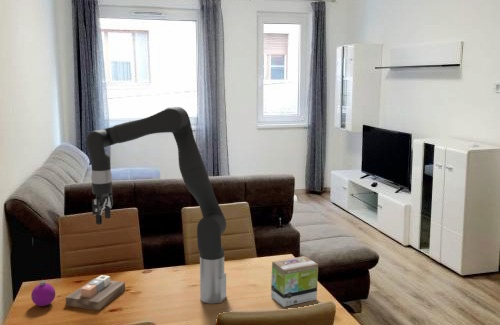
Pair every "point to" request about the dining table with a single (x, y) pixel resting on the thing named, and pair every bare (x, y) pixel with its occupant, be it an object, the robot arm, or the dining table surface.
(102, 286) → the key slate
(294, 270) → the tea box
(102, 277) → the key ivory
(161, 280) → the dining table surface
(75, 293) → the keypad board
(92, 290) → the key terracotta
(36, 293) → the christmas ornament
